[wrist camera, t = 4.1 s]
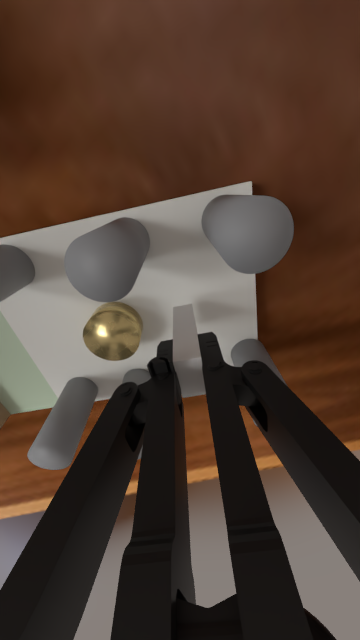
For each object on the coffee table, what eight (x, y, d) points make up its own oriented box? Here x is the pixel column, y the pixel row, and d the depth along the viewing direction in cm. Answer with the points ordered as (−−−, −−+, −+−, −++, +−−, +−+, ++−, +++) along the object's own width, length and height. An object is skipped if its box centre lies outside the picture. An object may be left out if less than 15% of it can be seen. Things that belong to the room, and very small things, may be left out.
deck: (10, 407, 26) (-52, 488, 19) (-110, 262, 18) (-299, 309, 11) (260, 365, 24) (298, 438, 17) (255, 179, 16) (323, 169, 9)
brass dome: (102, 349, 21) (95, 364, 19) (83, 307, 19) (73, 320, 17) (148, 340, 21) (146, 355, 19) (134, 297, 19) (130, 309, 17)
